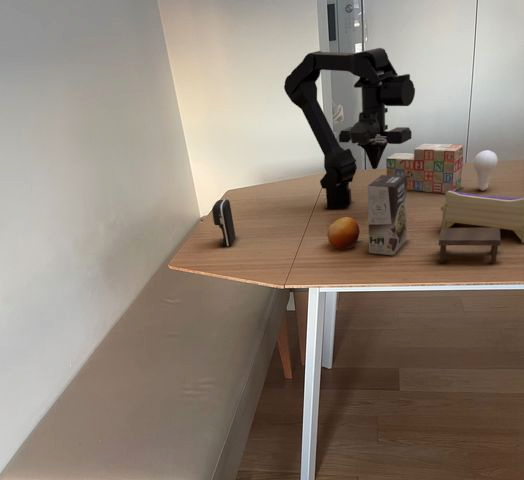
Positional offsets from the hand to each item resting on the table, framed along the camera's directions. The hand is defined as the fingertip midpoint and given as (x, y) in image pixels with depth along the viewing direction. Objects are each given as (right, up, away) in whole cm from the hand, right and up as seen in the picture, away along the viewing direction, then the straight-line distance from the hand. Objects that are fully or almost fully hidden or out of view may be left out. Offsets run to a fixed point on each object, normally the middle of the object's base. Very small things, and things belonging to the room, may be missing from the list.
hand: (374, 168), depth 139 cm
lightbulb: (+33, -3, +9) cm, 34 cm away
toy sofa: (+24, -21, -15) cm, 35 cm away
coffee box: (0, -24, -15) cm, 29 cm away
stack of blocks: (+19, 0, +18) cm, 26 cm away
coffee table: (+15, -29, -26) cm, 41 cm away
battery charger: (-40, -20, +3) cm, 45 cm away
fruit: (-10, -23, -10) cm, 27 cm away
